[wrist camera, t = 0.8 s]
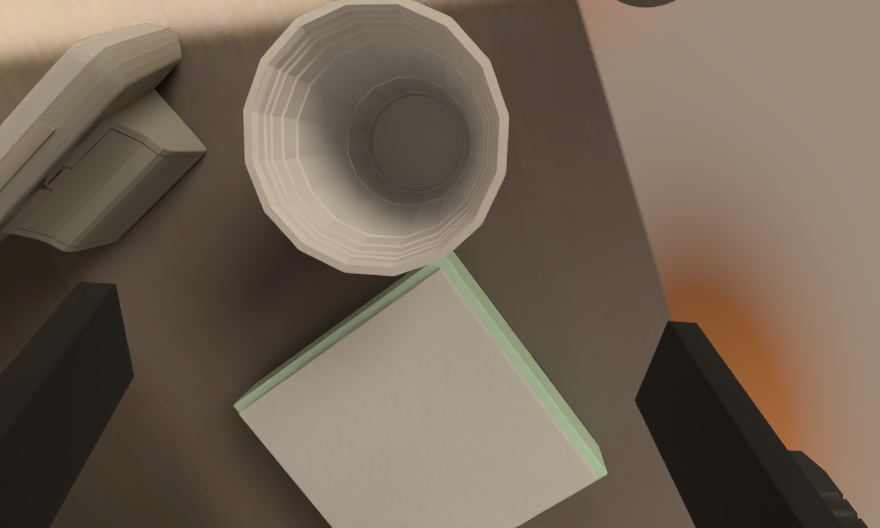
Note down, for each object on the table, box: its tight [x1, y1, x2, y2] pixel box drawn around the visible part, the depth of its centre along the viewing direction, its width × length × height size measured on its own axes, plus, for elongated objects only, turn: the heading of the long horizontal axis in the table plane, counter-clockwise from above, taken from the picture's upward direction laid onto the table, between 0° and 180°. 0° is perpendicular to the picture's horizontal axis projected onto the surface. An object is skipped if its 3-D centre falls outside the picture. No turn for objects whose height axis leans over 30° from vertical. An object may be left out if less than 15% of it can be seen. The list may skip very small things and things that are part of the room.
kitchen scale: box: [233, 251, 607, 528], centre depth 35 cm, size 16×16×4 cm
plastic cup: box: [243, 0, 509, 276], centre depth 28 cm, size 11×11×12 cm
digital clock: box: [0, 23, 207, 252], centre depth 30 cm, size 16×9×11 cm, turn 120°
